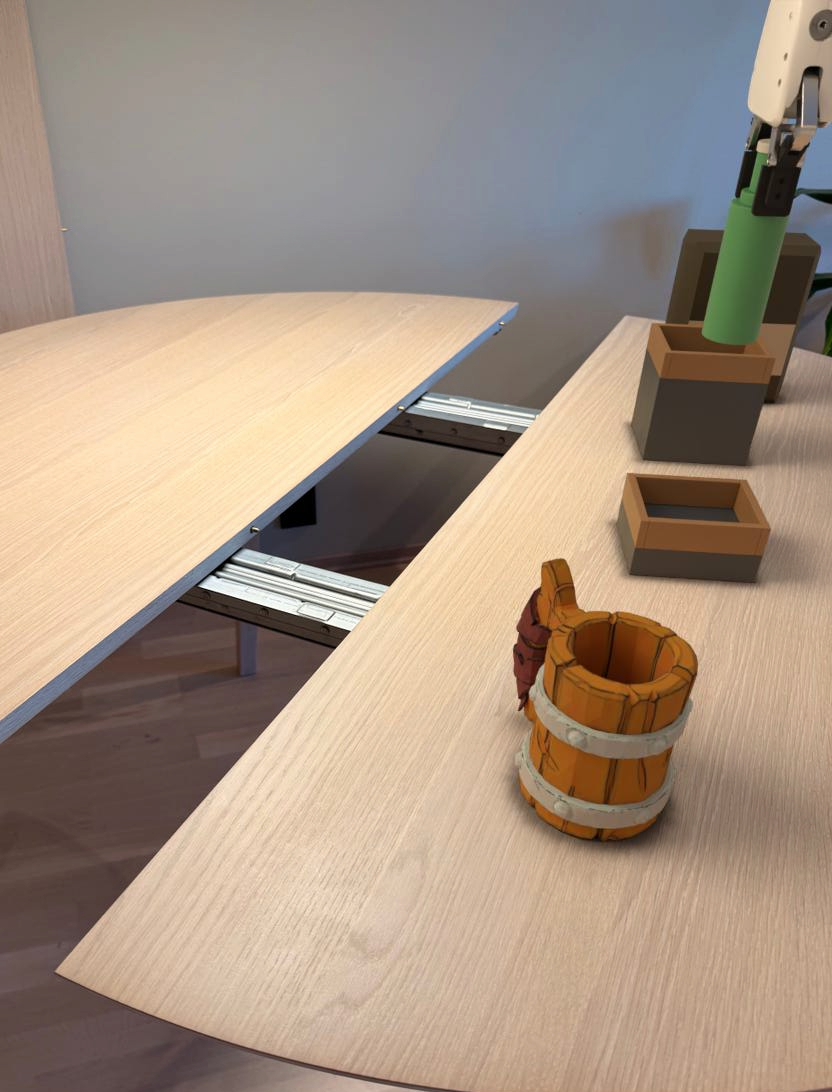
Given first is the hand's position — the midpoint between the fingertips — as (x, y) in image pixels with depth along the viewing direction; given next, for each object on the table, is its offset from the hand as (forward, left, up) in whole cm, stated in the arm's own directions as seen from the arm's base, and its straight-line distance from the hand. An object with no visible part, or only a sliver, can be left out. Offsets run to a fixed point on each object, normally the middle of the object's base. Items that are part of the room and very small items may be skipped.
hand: (761, 205), depth 88 cm
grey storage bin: (-3, -17, -31) cm, 36 cm away
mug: (+16, +42, -31) cm, 55 cm away
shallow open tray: (+2, +9, -31) cm, 32 cm away
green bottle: (0, 0, -12) cm, 12 cm away
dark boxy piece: (-10, -35, -31) cm, 48 cm away
